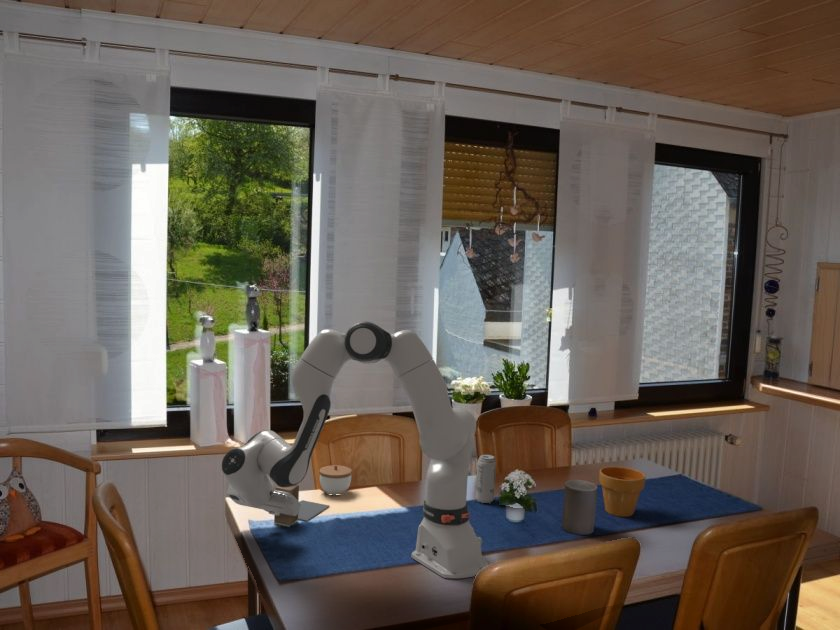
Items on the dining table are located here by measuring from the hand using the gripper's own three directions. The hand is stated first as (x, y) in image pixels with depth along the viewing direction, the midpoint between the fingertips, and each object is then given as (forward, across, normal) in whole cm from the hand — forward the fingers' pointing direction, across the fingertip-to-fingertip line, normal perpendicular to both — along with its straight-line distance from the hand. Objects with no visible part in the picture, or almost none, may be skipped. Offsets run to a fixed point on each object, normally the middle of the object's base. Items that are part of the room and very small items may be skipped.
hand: (275, 512), depth 212 cm
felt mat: (+15, 0, -8) cm, 17 cm away
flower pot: (+49, -89, -42) cm, 110 cm away
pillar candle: (+34, -79, -27) cm, 90 cm away
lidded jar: (+29, 0, -22) cm, 36 cm away
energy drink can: (+41, -47, -33) cm, 71 cm away
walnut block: (+8, 0, -1) cm, 8 cm away
